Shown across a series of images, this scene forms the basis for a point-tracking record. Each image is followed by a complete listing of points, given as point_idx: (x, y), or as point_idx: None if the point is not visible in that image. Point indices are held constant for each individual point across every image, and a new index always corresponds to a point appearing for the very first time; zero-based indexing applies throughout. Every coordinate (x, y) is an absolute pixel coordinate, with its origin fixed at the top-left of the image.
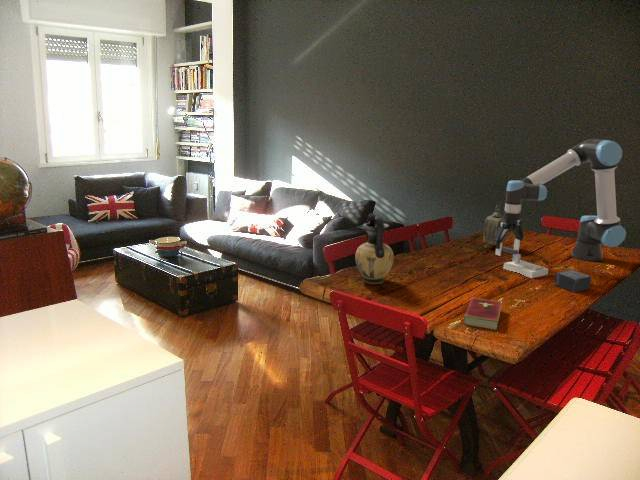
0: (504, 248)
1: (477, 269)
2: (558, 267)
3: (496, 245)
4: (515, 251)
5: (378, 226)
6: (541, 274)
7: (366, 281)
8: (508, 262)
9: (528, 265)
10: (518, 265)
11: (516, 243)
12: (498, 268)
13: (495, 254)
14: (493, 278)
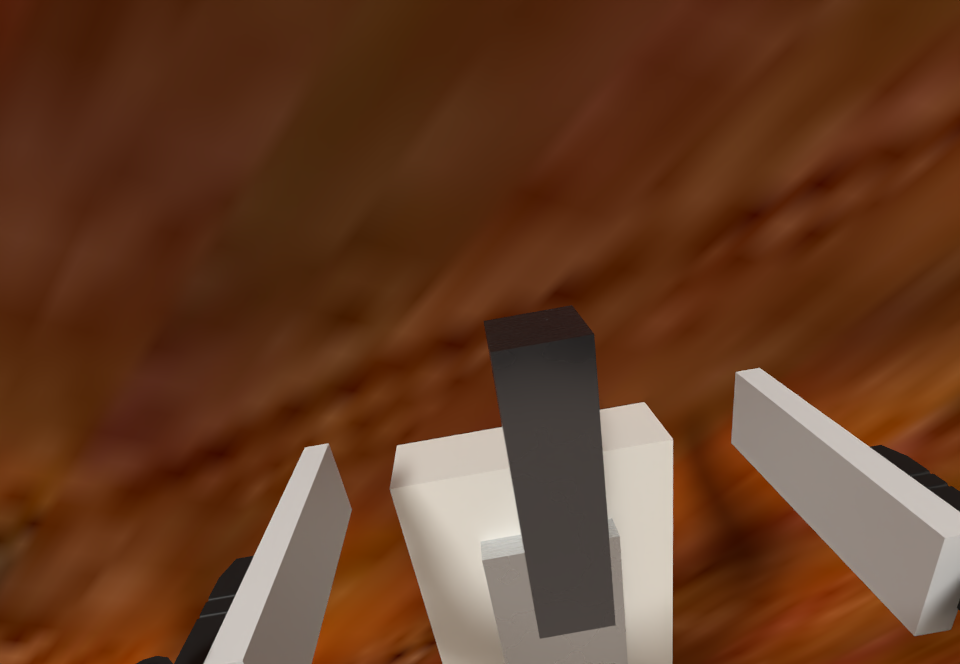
0: (510, 471)
1: (83, 399)
2: None
3: (200, 635)
4: (551, 625)
5: None
6: None
7: None
8: (457, 487)
9: (533, 656)
10: (485, 580)
11: (843, 510)
12: (354, 424)
13: (306, 450)
14: (129, 621)
